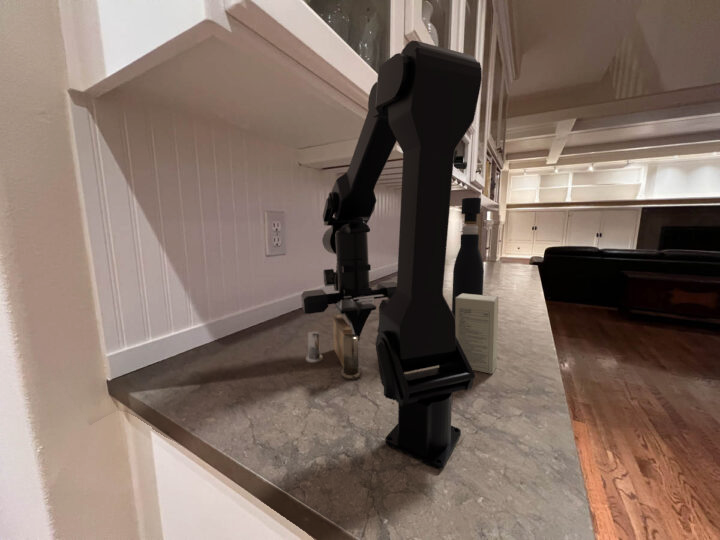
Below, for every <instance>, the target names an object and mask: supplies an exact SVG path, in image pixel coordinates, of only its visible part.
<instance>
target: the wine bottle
mask: <svg viewBox="0 0 720 540" xmlns="http://www.w3.org/2000/svg"><path fill="white" fill-rule="evenodd" d="M481 205H482V198H481V197H466V198H465V197H464V198H462V199H461V215H464V221H463V223H464V225H462V227H461V228H462V231H461V233H462V234H461V235H460V245H459V246H460V247H459V250H458V252H457V254H456V258H455V261H454V265H453V270H452V276H453V277H452V294H451V296H452V297H451V298H452V299H451V311H452V313H453V315H454V317H455V298H456V297H457V296H459V295H461V294H462V293H464V294H475V295H484V277H485V275H484V274H485V268H484V263H483V262H484V261H483V257H482V254H481V252H480V246H479V245H480V235H479V234H478V233H479V230H478V229H479V227H478V225H474V224H477V223H478V222H477V220H478V219H477V218H478V216H477V215H479V214H481V210H482V209H481V208H482V206H481ZM471 224H472V225H471Z"/></svg>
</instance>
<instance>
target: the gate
mask: <svg viewBox="0 0 720 540" xmlns="http://www.w3.org/2000/svg"><path fill="white" fill-rule="evenodd" d="M332 321H333V323H332V326H333V328H332V329H333V331H332V332H333V349H334V352H335V353H336V356H337V357H338V360H339V362H340V364H341V366H342V368H343V369H344V359H343V336H344V335H347V334H353V331H352V329H351V326H350V324H349V323H348V322H347V321H346V320H345V319H344V318H343V316H342V314H332Z"/></svg>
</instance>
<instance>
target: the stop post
mask: <svg viewBox="0 0 720 540" xmlns="http://www.w3.org/2000/svg"><path fill="white" fill-rule="evenodd" d="M307 343H308V354H307V356H305V361H306V362H307V364H308V363H309V364H319V363H321V362H322V361H323V360H324V357H323V354H321V350H320V349H321V347H320V346H321V345H320V344H321V343H320V332H319V331H314V330H313V331H312V330H311V331H309V332H308V334H307Z"/></svg>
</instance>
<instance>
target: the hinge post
mask: <svg viewBox="0 0 720 540" xmlns="http://www.w3.org/2000/svg"><path fill="white" fill-rule="evenodd" d="M343 359H344V368H343V369H342V370H341V371H340V375H341V379H343V380H345V381H355V380H359V379H360V378H361V377H362V370H361V369H360V368H359V342H358V336H357V335H355V334H353V333H352V334H347V335H344V336H343Z"/></svg>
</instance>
